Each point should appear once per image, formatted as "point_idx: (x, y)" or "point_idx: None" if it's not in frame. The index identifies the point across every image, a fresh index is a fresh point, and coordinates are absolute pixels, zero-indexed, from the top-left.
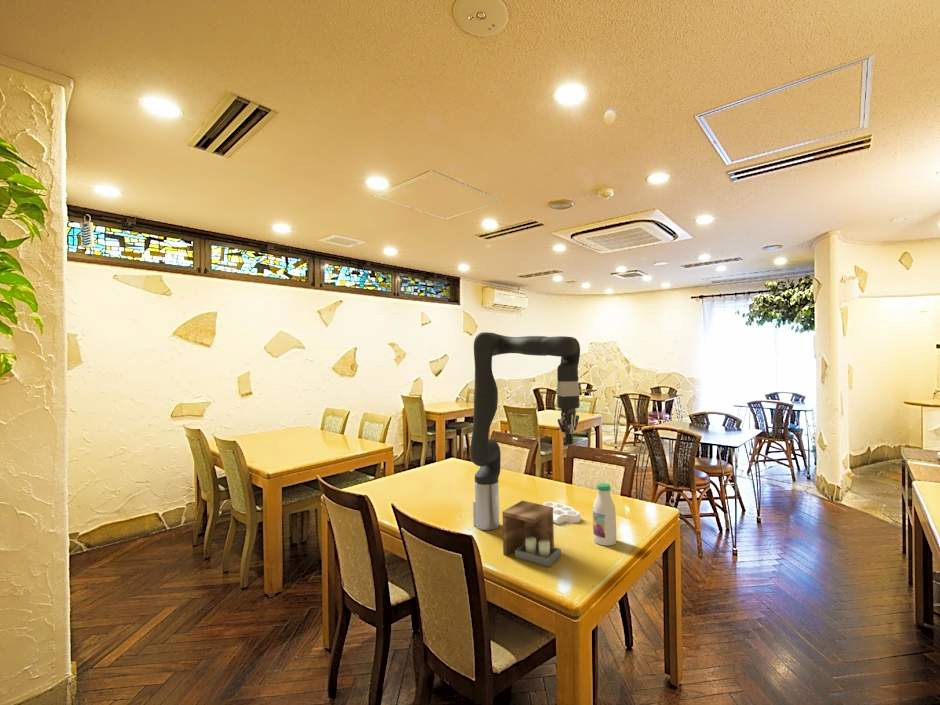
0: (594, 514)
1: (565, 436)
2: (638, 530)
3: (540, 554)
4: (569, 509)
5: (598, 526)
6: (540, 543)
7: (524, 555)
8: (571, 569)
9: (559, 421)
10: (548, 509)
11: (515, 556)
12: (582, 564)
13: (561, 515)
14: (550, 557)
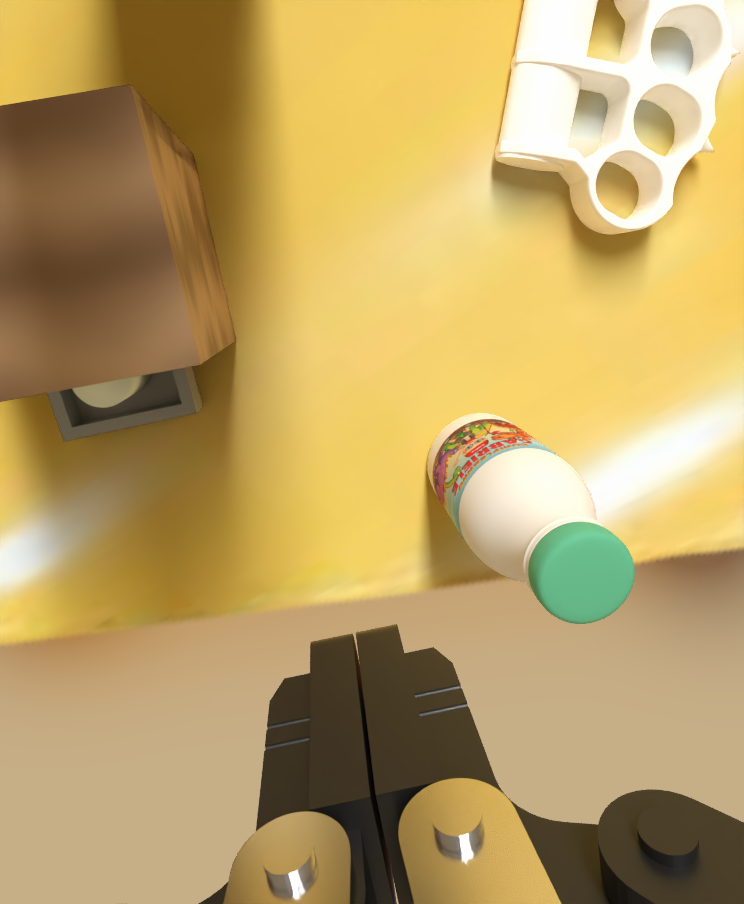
0: (464, 477)
1: (311, 750)
2: (686, 502)
3: None
4: (693, 119)
5: (442, 487)
6: None
7: None
8: (143, 504)
9: None
10: (140, 369)
11: None
12: (214, 511)
13: (554, 158)
14: (89, 432)
